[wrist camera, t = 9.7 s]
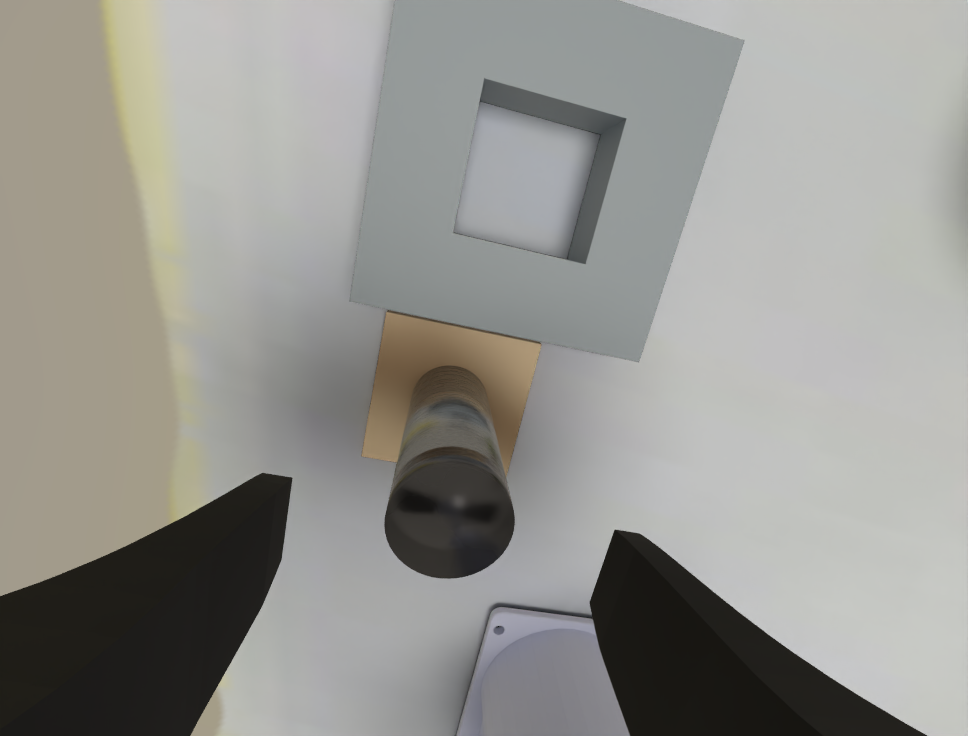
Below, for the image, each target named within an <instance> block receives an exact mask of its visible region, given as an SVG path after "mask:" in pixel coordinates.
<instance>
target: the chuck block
mask: <svg viewBox="0 0 968 736" xmlns="http://www.w3.org/2000/svg"><path fill="white" fill-rule="evenodd" d="M744 41H745V40H742V39H739V38H735V37H732V36H729V35H726V34H723V33H720V32H717V31H713V30H710V29H707V28H704V27H701V26H698V25H694V24H691V23H688V22H685V21H682V20H679V19H676V18H672V17H669V16H666V15H663V14H660V13H657V12H653V11H650V10H647V9H644V8H641V7H638V6H635V5H631V4H628V3H625V2H622V1H619V0H395V2H394V9H393V16H392V22H391V29H390V35H389V42H388V49H387V55H386V62H385V69H384V75H383V82H382V89H381V95H380V102H379V108H378V115H377V122H376V128H375V135H374V142H373V148H372V155H371V161H370V168H369V175H368V181H367V188H366V195H365V201H364V208H363V215H362V221H361V228H360V234H359V241H358V248H357V254H356V261H355V268H354V274H353V281H352V288H351V294H350V302H355V303H359V304H364V305H369V306H374V307H378V308H383V309H388V310H393V311H397V312H402V313H407V314H412V315H416V316H421V317H426V318H431V319H435V320H440V321H445V322H450V323H454V324H459V325H464V326H469V327H473V328H478V329H483V330H488V331H492V332H497V333H502V334H507V335H511V336H516V337H521V338H526V339H530V340H535V341H540V342H545V343H549V344H554V345H559V346H564V347H568V348H573V349H578V350H583V351H587V352H592V353H597V354H602V355H606V356H611V357H616V358H621V359H625V360H630V361H635V362H639V361H640V358H641V355H642V352H643V349H644V346H645V343H646V339H647V336H648V333H649V330H650V327H651V324H652V321H653V318H654V315H655V312H656V309H657V306H658V303H659V300H660V297H661V294H662V291H663V288H664V285H665V282H666V279H667V276H668V273H669V269H670V266H671V263H672V260H673V257H674V254H675V251H676V248H677V245H678V242H679V239H680V236H681V233H682V230H683V227H684V224H685V221H686V218H687V215H688V212H689V209H690V206H691V203H692V199H693V196H694V193H695V190H696V187H697V184H698V181H699V178H700V175H701V172H702V169H703V166H704V163H705V160H706V157H707V154H708V151H709V148H710V145H711V142H712V139H713V136H714V133H715V129H716V126H717V123H718V120H719V117H720V114H721V111H722V108H723V105H724V102H725V99H726V96H727V93H728V90H729V87H730V84H731V81H732V78H733V75H734V72H735V69H736V66H737V63H738V59H739V56H740V53H741V50H742V47H743V44H744ZM480 101H481V102H485V103H489V104H492V105H496V106H499V107H503V108H507V109H510V110H514V111H518V112H521V113H525V114H528V115H532V116H536V117H539V118H543V119H547V120H550V121H554V122H557V123H561V124H565V125H568V126H572V127H576V128H579V129H583V130H586V131H590V132H594V133H597V134H601V136H600V139H599V143H598V147H597V150H596V154H595V158H594V162H593V165H592V169H591V173H590V176H589V180H588V184H587V188H586V191H585V195H584V199H583V202H582V206H581V210H580V214H579V217H578V221H577V225H576V228H575V232H574V236H573V240H572V243H571V247H570V251H569V254H568V258H567V259H563V258H558V257H554V256H550V255H546V254H541V253H537V252H533V251H529V250H525V249H520V248H516V247H512V246H508V245H503V244H499V243H495V242H491V241H486V240H482V239H478V238H474V237H469V236H465V235H461V234H457V233H453V230H454V225H455V220H456V215H457V210H458V205H459V201H460V196H461V191H462V186H463V181H464V176H465V171H466V166H467V161H468V156H469V151H470V146H471V141H472V136H473V131H474V126H475V121H476V116H477V112H478V107H479V102H480Z"/></svg>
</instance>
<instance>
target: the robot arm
mask: <svg viewBox="0 0 968 736" xmlns="http://www.w3.org/2000/svg"><path fill="white" fill-rule="evenodd" d="M291 484H292V478H291V477H285V476H278V475H272V474H266V473H261V474H259V475H258V476H256V477H254V478H252V479H250V480H248V481H247V482H245V483H243V484H242V485H240V486H238V487H236V488H235V489H233V490H231V491H230V492H228V493H226V494H224V495H223V496H221V497H219V498H217V499H216V500H214V501H212V502H210V503H208V504H207V505H205V506H203V507H201V508H199V509H198V510H196V511H194V512H192V513H190V514H189V515H187V516H185V517H183V518H181V519H179V520H177V521H175V522H173V523H171V524H169V525H167V526H165V527H163V528H162V529H159V530H157V531H155V532H154V533H151V534H149V535H147V536H145V537H143V538H142V539H139V540H138V541H136V542H134V543H131V544H129V545H127V546H126V547H123V548H121V549H119V550H117V551H114V552H112V553H110V554H108V555H106V556H103V557H101V558H99V559H96V560H94V561H92V562H89V563H87V564H84V565H82V566H79V567H77V568H75V569H72V570H70V571H67V572H65V573H62V574H60V575H58V576H55V577H52V578H50V579H47V580H45V581H42V582H40V583H37V584H34V585H31V586H28V587H26V588H23V589H20V590H17V591H14V592H11V593H8V594H5V595H3V596H0V736H190V735H191V733H192V731H193V729H194V727H195V726H196V724H197V722H198V720H199V718H200V716H201V714H202V713H203V711H204V709H205V707H206V706H207V704H208V702H209V700H210V698H211V697H212V695H213V693H214V691H215V690H216V688H217V686H218V684H219V682H220V681H221V679H222V677H223V675H224V674H225V672H226V670H227V668H228V666H229V665H230V663H231V661H232V659H233V658H234V656H235V654H236V652H237V651H238V649H239V647H240V645H241V643H242V642H243V640H244V638H245V636H246V634H247V633H248V631H249V629H250V627H251V625H252V624H253V622H254V620H255V618H256V616H257V615H258V613H259V611H260V609H261V607H262V605H263V603H264V601H265V598H266V596H267V594H268V591H269V589H270V587H271V584H272V582H273V579H274V577H275V574H276V572H277V569H278V567H279V565H280V562H281V559H282V552H283V544H284V537H285V529H286V522H287V514H288V506H289V499H290V491H291ZM590 607H591V612H592V617H593V619H590V618H582V617H575V616H567V615H560V614H552V613H544V612H537V611H529V610H522V609H514V608H506V607H498V608H496V609H494V610H493V611H492V612H491V614H490V617H489V621H488V624H487V628H486V631H485V635H484V638H483V642H482V646H481V649H480V653H479V656H478V660H477V663H476V667H475V670H474V674H473V677H472V681H471V685H470V688H469V692H468V695H467V699H466V702H465V706H464V709H463V713H462V716H461V720H460V723H459V727H458V731H457V734H456V736H927V735H925V734H923V733H921V732H920V731H918V730H916V729H914V728H913V727H911V726H909V725H907V724H905V723H904V722H902V721H900V720H899V719H897V718H895V717H894V716H892V715H890V714H889V713H887V712H885V711H884V710H882V709H880V708H879V707H877V706H875V705H874V704H872V703H870V702H869V701H867V700H865V699H863V698H862V697H860V696H858V695H857V694H855V693H854V692H852V691H851V690H849V689H847V688H846V687H844V686H843V685H841V684H839V683H838V682H836V681H835V680H833V679H832V678H830V677H829V676H827V675H826V674H824V673H823V672H821V671H820V670H818V669H817V668H815V667H814V666H812V665H811V664H809V663H808V662H806V661H805V660H803V659H802V658H800V657H799V656H797V655H796V654H794V653H793V652H792V651H790V650H789V649H787V648H786V647H785V646H783V645H782V644H780V643H779V642H778V641H776V640H775V639H773V638H772V637H771V636H769V635H768V634H767V633H765V632H764V631H763V630H761V629H760V628H759V627H757V626H756V625H755V624H754V623H752V622H751V621H750V620H748V619H747V618H746V617H744V616H743V615H742V614H740V613H739V612H738V611H737V610H735V609H734V608H733V607H731V606H730V605H729V604H728V603H726V602H725V601H724V600H723V599H721V598H720V597H719V596H718V595H716V594H715V593H714V592H713V591H712V590H710V589H709V588H708V587H707V586H705V585H704V584H703V583H702V582H701V581H699V580H698V579H697V578H696V577H695V576H693V575H692V574H691V573H690V572H688V571H687V570H686V569H685V568H684V567H682V566H681V565H680V564H679V563H678V562H676V561H675V560H674V559H673V558H671V557H670V556H669V555H668V554H667V553H665V552H664V551H663V550H662V549H660V548H659V547H658V546H656V545H655V544H654V543H652V542H651V541H650V540H648V539H647V538H645V537H644V536H642V535H641V534H639V533H633V532H626V531H620V530H614V533H613V536H612V539H611V542H610V545H609V548H608V551H607V554H606V556H605V559H604V562H603V565H602V568H601V571H600V574H599V577H598V580H597V583H596V585H595V588H594V591H593V594H592V597H591V600H590ZM496 626H502V627H500V628H496Z"/></svg>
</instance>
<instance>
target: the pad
mask: <svg viewBox="0 0 968 736" xmlns="http://www.w3.org/2000/svg"><path fill="white" fill-rule="evenodd" d="M541 345H542V344H541V343H540V342H537V341H532V340H527V339H523V338H518V337H513V336H508V335H504V334H499V333H494V332H489V331H485V330H480V329H475V328H470V327H466V326H461V325H456V324H451V323H447V322H442V321H437V320H432V319H427V318H423V317H418V316H413V315H408V314H404V313H399V312H394V311H389V310H387V312H386V317H385V322H384V328H383V334H382V340H381V346H380V351H379V357H378V363H377V369H376V374H375V380H374V386H373V392H372V398H371V403H370V409H369V415H368V421H367V426H366V432H365V438H364V444H363V450H362V455H361V456H362V457H368V458H374V459H380V460H386V461H392V462H397V460H398V456H399V451H400V447H401V442H402V438H403V433H404V428H405V424H406V419H407V415H408V410H409V406H410V401H411V397H412V392H413V389H414V387H415V385H416V383H417V382H418V380H419V379H420V378H421V377H422V376H423V375H424V374H425V373H427V372H428V371H430V370H432V369H434V368H437V367H440V366H450V365H451V366H458V367H462V368H465V369H467V370H469V371H471V372H472V373H474V374H475V375H476V376H477V377H478V378H479V379H480V380H481V382H482V383H483V385H484V387H485V390H486V393H487V397H488V402H489V406H490V410H491V415H492V419H493V423H494V428H495V432H496V436H497V441H498V445H499V449H500V454H501V458H502V462H503V467H504V471H505V476H507V472H508V468H509V465H510V461H511V457H512V453H513V450H514V446H515V442H516V438H517V435H518V431H519V427H520V424H521V420H522V416H523V412H524V409H525V405H526V401H527V397H528V394H529V390H530V386H531V382H532V379H533V375H534V371H535V368H536V364H537V360H538V356H539V353H540V349H541Z"/></svg>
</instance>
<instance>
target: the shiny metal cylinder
mask: <svg viewBox="0 0 968 736" xmlns="http://www.w3.org/2000/svg"><path fill="white" fill-rule="evenodd" d="M514 525H515V517H514V510H513V506H512V502H511V497H510V493H509V489H508V484H507V480H506V476H505V471H504V467H503V462H502V458H501V454H500V449H499V445H498V441H497V436H496V432H495V428H494V423H493V419H492V415H491V410H490V406H489V402H488V397H487V393H486V390H485V387H484V385H483V383H482V382H481V380H480V379H479V378H478V377H477V376H476V375H475V374H474V373H472V372H471V371H469V370H467V369H465V368H462V367H458V366H451V365H450V366H440V367H437V368H434V369H432V370H430V371H428V372H427V373H425V374H424V375H423V376H422V377H421V378H420V379H419V380H418V382H417V383H416V385H415V387H414V389H413V392H412V397H411V401H410V406H409V410H408V415H407V419H406V424H405V428H404V433H403V438H402V442H401V447H400V451H399V456H398V460H397V465H396V469H395V474H394V479H393V483H392V488H391V492H390V497H389V501H388V506H387V510H386V515H385V533H386V537H387V541H388V543H389V545H390V547H391V549H392V551H393V552H394V554H395V555H396V556H397V557H398V559H400V560H401V561H402V562H403V563H404V564H405V565H407V566H408V567H409V568H411V569H413V570H415V571H416V572H419V573H421V574H424V575H427V576H431V577H436V578H448V579H449V578H460V577H465V576H468V575H472V574H475V573H477V572H479V571H481V570H483V569H485V568H487V567H488V566H490V565H491V564H492V563H494V562H495V561H496V560H497V559H498V558H499V557H500V556H501V555H502V554H503V552H504V551H505V550H506V548H507V546H508V545H509V543H510V540H511V538H512V535H513V531H514Z"/></svg>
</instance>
